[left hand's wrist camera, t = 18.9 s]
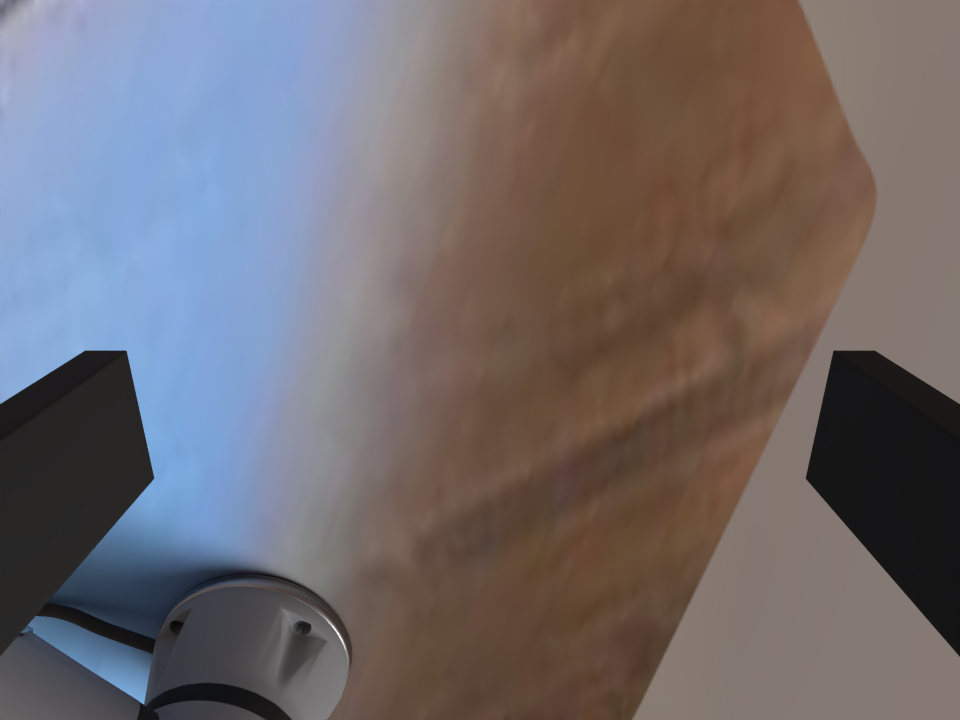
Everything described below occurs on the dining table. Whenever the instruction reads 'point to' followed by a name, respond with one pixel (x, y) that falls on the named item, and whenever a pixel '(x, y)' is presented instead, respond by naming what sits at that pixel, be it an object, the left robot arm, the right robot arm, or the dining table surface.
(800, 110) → the dining table surface
